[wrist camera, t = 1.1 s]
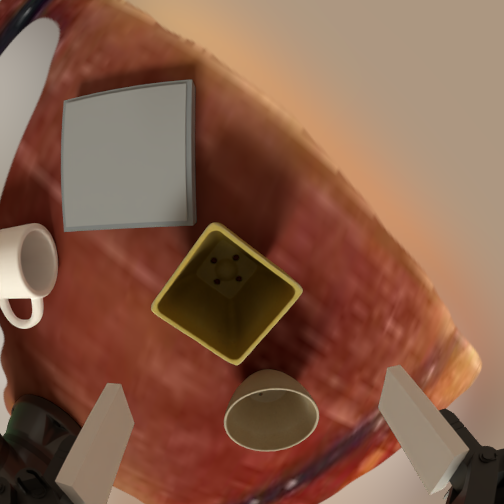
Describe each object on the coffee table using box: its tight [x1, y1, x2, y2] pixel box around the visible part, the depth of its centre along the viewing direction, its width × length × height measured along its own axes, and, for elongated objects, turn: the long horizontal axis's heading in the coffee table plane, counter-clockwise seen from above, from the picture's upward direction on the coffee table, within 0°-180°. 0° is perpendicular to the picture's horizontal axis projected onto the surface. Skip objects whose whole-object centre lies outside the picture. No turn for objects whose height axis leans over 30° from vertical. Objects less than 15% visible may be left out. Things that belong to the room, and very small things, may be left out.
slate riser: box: [61, 79, 197, 232], centre depth 27 cm, size 14×14×3 cm
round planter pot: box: [224, 369, 319, 451], centre depth 31 cm, size 10×10×7 cm
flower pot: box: [151, 222, 303, 365], centre depth 27 cm, size 9×9×9 cm
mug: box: [0, 223, 58, 329], centre depth 26 cm, size 12×10×8 cm
